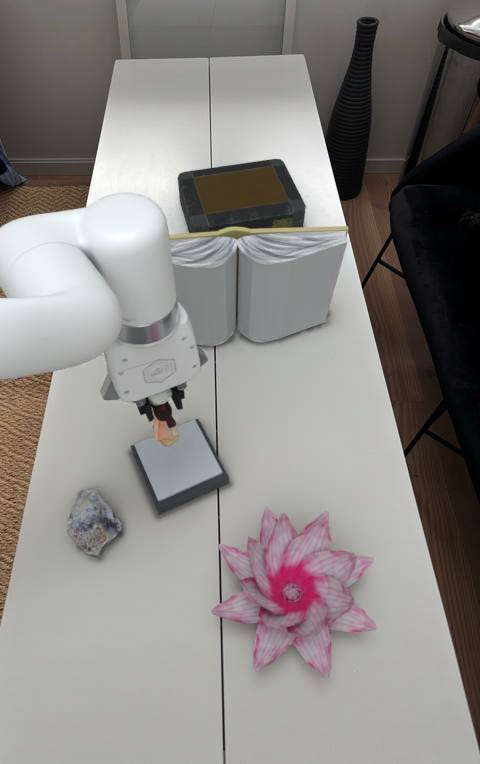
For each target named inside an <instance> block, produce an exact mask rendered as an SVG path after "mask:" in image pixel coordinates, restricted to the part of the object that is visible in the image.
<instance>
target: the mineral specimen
mask: <svg viewBox="0 0 480 764" xmlns="http://www.w3.org/2000/svg"><path fill="white" fill-rule="evenodd" d="M76 496H77V497H76V499H75V501H74V504H73V506H72V509H71V513H70V514H69V516H68V518H67V521H68V524H69V525H68V526H67V530H66V532H67V535H68V536H69V537H70V539H71V540H73V542H75V543H76V545H77V546H79V548H80V549H81V550H82V552H83V553H84V554H86V555H88V556H89V557H90V556H91V557H98V558H99V557H100V556H101V555H102V554H103V552H104V551H105V549H106V548H107V547H108V545H109V544H110V543H111V541H112V540H114V539H115V538H116V536H118V535H119V534H120V532H121V531H122V530H123V528H122V522H121V521H120V519H118V518H117V517H114V512H113V510H112V507H111V506H110V505H109V503H108V501H106V500H105V499H104V498H103V497H102V496H101V495H100V493H99V492H98V490H96V489H94V488H93V487H91V488H90V487H89V488H83V489H80V490H79V491H77V493H76Z"/></svg>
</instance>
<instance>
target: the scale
mask: <svg viewBox="0 0 480 764" xmlns="http://www.w3.org/2000/svg"><path fill="white" fill-rule="evenodd" d="M177 430H178V432H179V433H178V434H179V439H178V440H177V441H176V442H175V443H174V444H172V445H171V446H168V447H165V446H163V445H162V444H161V441H159V442H157V441H156V440H155V439H154V435H153V436H151V437H148V438H145V439H143V440H141V441H139V442H137V443H134V444H131V445H130V450H131V452H132V455H133V458H134V460H135V462H136V464H137V467H138V469H139V471H140V473H141V476H142V478H143V481H144V483H145V485H146V488H147V490H148V492H149V495H150V497H151V499H152V502H153V504H154V507H155V509H156V511H157V514H158V515H159V516H160V515H162V514H164V513H167V512H168V511H171V510H173V509H175V508H178V507H180V506H182V505H184V504H186V503H188V502H191V501H193V500H195V499H198V498H200V497H202V496H205V495H207V494H209V493H211V492H213V491H216V490H217V489H219V488H223V487H224V486H227V485H229V484H230V483H229V482H230V481H229V480H230V479H229V475H228V473H227V471H226V468H224V465H223V463H222V462H221V460H220V458H219V456H218V454H217V452H216V450H215V448H214V446H213V443H212V442H211V441H210V439H209V437H208V435H207V433H206V431H205V429H204V428H203V425H202V423H201V422H200V419H199V418H195V419H192V420H190V421H187V422H185V423H182V424H180V425H178V426H177Z"/></svg>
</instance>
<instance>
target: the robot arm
mask: <svg viewBox="0 0 480 764" xmlns="http://www.w3.org/2000/svg"><path fill="white" fill-rule="evenodd" d="M169 235H170V232H169V226H168V220H167V217H166V214H165V212H164V210H163V209H162V207H161V206H160V205H159V204H158V203H157V202H156V201H155V200H154V199H152V198H150V197H148V196H146V195H142V194H140V193H135V192H116V193H112V194H107V195H105V196H103V197H101V198H99V199H97V200H95V201H94V202H93V203H92V204H90V205H89V206H85V207H78V208H73V209H67V210H60V211H54V212H53V211H51V212H46V213H37V214H33V215H26V216H23V217H18V218H16V219H14V220H11V221H9V222H7V223H5V224H3V225H2V226H0V289H1V290H2V292H3V294H4V295H5V297H0V380H11V379H18V378H25V377H30V376H37V375H41V374H47V373H52V372H57V371H62V370H66V369H71V368H73V367H74V368H75V367H76V366H79V365H83V364H85V363H89V362H91V361H92V360H94V359H96V358H99V357H100V356H101V355H102V354H103V356H104V360H105V365H106V369H107V374H106V377H105V379H104V381H103V383H102V385H101V388H100V390H99V391H100V394H101V396H102V399H103V401H118V400H121V402H123V403H133V404H135V405H136V408H137V411H138V412H139V415H140V416H144V415H145V416H146V418H147V421H148V422H149V423H150V422H154V416H153V415H154V412H153V409H152V407H151V404H150V402H149V399H148V397H149V396H151V395H154V394H157V393H159V392H162V391H164V390H167V389H170V388H171V389H172V391H173V393H172V396H171V397H170V399H171V400H172V402H173V405H174V406H175V409H176V410H178V411H180V410H183V409H184V405H183V400H184V399H185V398H186V396H185V395H186V394H185V390H186V389H187V387H188V385H187V382H189V381H191V380H193V379H194V378H196V377H197V376H198V375H199V374H200V372H201V368H202V367H203V366H204V365H205V364H206V363H208V361H209V357H208V356H207V355H206V352H205V351H204V350H202V348H200V347H198V345H197V344H196V340H195V336H194V332H193V328H192V325H191V322H190V319H189V317H188V315H187V313H186V311H185V309H184V308H183V307H182V306H181V304H180V303H179V302H178V301H177V293H176V287H175V279H174V271H173V263H172V255H171V247H170V239H169Z"/></svg>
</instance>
